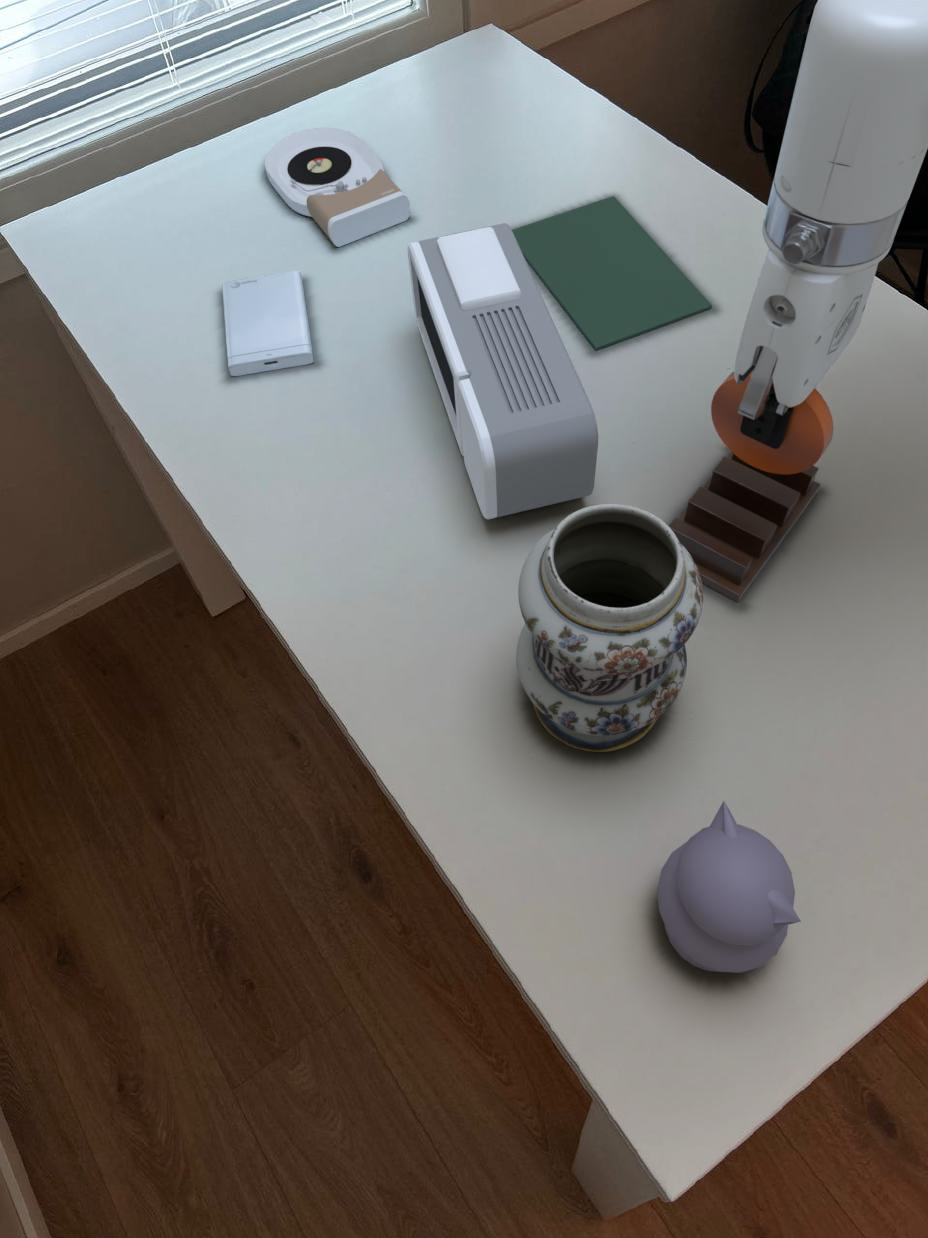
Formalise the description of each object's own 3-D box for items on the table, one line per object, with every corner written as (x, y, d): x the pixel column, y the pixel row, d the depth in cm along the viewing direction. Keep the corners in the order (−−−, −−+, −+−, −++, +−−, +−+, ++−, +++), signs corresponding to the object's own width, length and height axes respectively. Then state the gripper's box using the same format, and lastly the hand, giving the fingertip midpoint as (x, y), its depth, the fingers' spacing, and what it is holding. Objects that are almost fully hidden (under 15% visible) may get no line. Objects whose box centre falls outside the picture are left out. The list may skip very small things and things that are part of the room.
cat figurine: (626, 890, 66) (645, 829, 56) (724, 841, 67) (760, 773, 57) (694, 1010, 61) (728, 968, 51) (797, 955, 63) (850, 904, 53)
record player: (319, 227, 101) (246, 136, 110) (324, 252, 103) (252, 162, 113) (417, 188, 103) (337, 103, 113) (420, 214, 106) (341, 129, 116)
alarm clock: (416, 328, 96) (403, 224, 86) (505, 308, 97) (504, 203, 87) (487, 539, 82) (483, 444, 72) (592, 514, 83) (601, 417, 73)
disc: (711, 430, 77) (731, 344, 69) (816, 480, 74) (848, 395, 66) (702, 442, 76) (721, 356, 69) (806, 492, 73) (839, 408, 66)
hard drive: (220, 281, 99) (226, 364, 93) (299, 268, 100) (311, 350, 93) (225, 294, 101) (231, 377, 94) (302, 282, 101) (314, 363, 94)
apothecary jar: (664, 623, 77) (699, 475, 62) (686, 763, 70) (731, 636, 55) (513, 629, 77) (510, 484, 62) (520, 770, 71) (520, 646, 56)
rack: (734, 451, 86) (742, 423, 83) (818, 491, 83) (829, 464, 80) (651, 556, 80) (656, 530, 77) (737, 602, 77) (746, 578, 74)
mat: (711, 308, 96) (712, 305, 95) (595, 350, 93) (596, 347, 93) (613, 198, 106) (613, 195, 105) (506, 234, 103) (506, 231, 103)
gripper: (831, 313, 52) (762, 521, 68) (950, 164, 58) (861, 386, 74) (708, 263, 55) (669, 474, 70) (834, 125, 61) (772, 348, 76)
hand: (768, 428), depth 72 cm, fingers closed on disc, 1 cm apart
